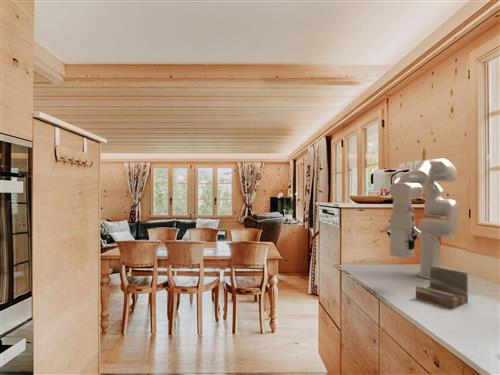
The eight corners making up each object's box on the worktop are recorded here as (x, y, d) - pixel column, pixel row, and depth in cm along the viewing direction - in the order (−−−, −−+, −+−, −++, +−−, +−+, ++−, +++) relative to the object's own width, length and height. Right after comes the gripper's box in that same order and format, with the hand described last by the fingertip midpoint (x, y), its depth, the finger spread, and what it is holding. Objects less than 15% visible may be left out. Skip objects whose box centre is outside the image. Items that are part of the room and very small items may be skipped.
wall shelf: (431, 292, 137) (431, 265, 137) (467, 301, 126) (467, 272, 126) (415, 298, 129) (415, 269, 129) (452, 308, 118) (452, 277, 118)
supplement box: (404, 258, 135) (404, 230, 135) (389, 255, 141) (389, 228, 142) (414, 257, 138) (414, 229, 138) (400, 254, 145) (400, 227, 145)
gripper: (425, 210, 135) (426, 250, 135) (389, 208, 149) (389, 244, 149) (417, 210, 131) (417, 251, 131) (380, 208, 145) (380, 245, 145)
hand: (402, 247), depth 140 cm, fingers closed on supplement box, 7 cm apart
